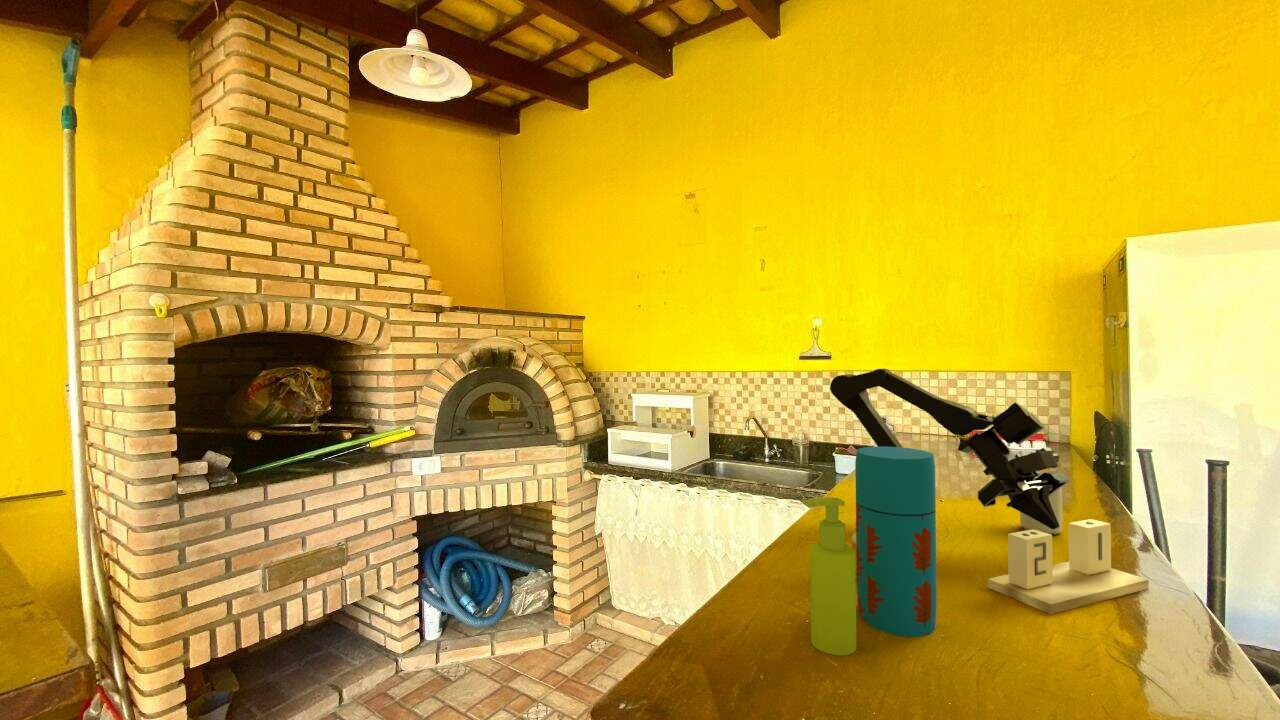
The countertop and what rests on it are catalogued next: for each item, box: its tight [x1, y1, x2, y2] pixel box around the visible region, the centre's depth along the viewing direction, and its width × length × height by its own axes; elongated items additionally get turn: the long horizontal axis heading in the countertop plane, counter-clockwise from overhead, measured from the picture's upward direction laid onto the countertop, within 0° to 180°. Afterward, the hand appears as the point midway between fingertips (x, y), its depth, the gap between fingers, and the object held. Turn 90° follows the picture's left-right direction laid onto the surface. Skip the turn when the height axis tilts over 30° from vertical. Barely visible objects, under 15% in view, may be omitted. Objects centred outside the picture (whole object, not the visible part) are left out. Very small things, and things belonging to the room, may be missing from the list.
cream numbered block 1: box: [1068, 518, 1112, 575], centre depth 93 cm, size 3×6×8 cm, turn 110°
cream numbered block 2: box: [1007, 529, 1053, 589], centre depth 88 cm, size 3×6×8 cm, turn 110°
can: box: [1019, 474, 1063, 535], centre depth 118 cm, size 8×8×12 cm
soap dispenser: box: [801, 496, 857, 656], centre depth 73 cm, size 6×7×20 cm
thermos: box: [854, 446, 938, 638], centre depth 80 cm, size 11×11×25 cm
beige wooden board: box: [987, 560, 1150, 615], centre depth 89 cm, size 10×24×2 cm, turn 110°
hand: (1056, 528), depth 98 cm, fingers closed
